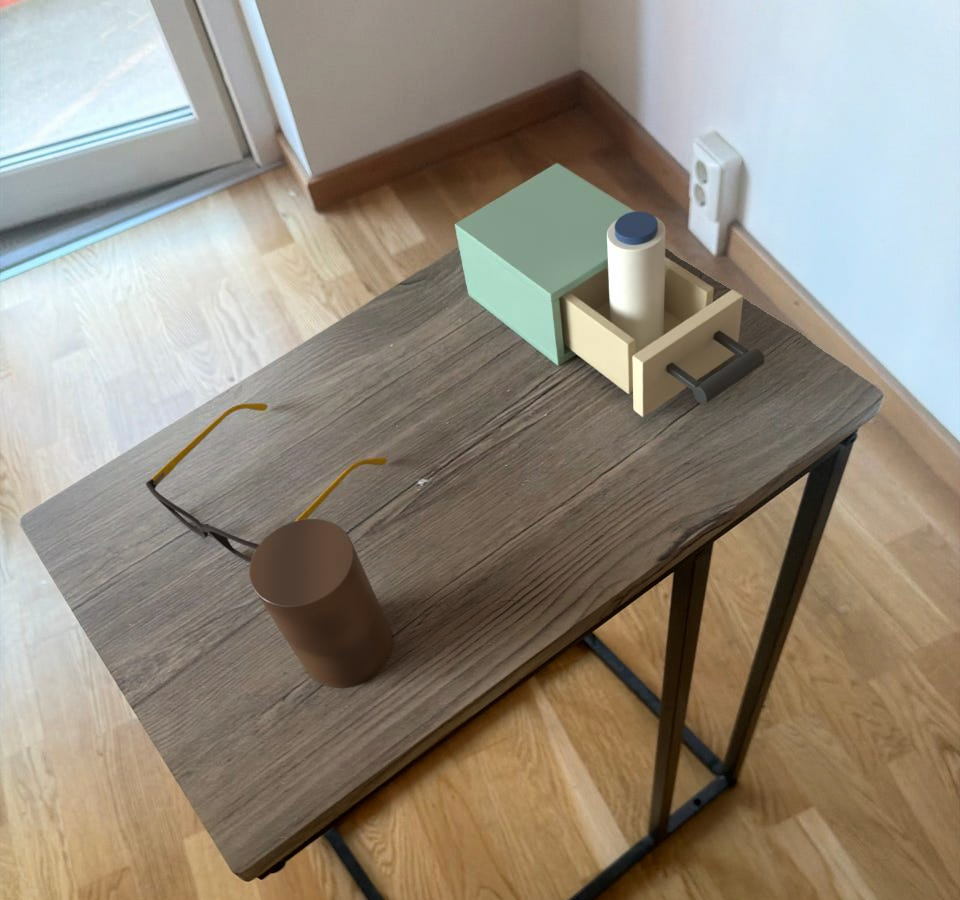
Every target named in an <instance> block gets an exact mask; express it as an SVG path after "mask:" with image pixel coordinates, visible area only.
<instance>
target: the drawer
mask: <svg viewBox="0 0 960 900" xmlns="http://www.w3.org/2000/svg"><path fill="white" fill-rule="evenodd" d="M714 290H715V288H714V287H713V286H712V285H710V284H709V283H707V282H705V281H704V280H703V279H701V278H699V277H698V276H696V275H695V274H693V273H691V272H690V271H688V270H687V269H685V268H683V266H680V265H679V264H677V263H676V262H674V261H672V260H671V259H669V258H668V257H667V256H665V289H664V335H663V336H662V337H660V338H659V339H657V340H656V341H654V342H653V343H651V344H650V345H648V346H647V347H645V348H644V349H642V350H641V351H639V352H638V353H636V352H635V339H633V338H632V337H631V336H629V335H628V334H626V333H625V332H624V331H622V330H621V329H620V328H618V327H617V326H615V325H614V324H613V323H611V322H610V298H609V273H608V267H607V268H605V269H604V270H602V271H601V272H599V273H597V274H596V275H594V276H593V277H591V278H590V279H588V280H586V281H585V282H583V283H582V284H580V285H579V286H577V287H575V288H574V289H572V290H571V291H569V292H568V293H566V294H564V295H563V296H561V297H560V298H559V304H560V314H561V324H562V335H563V344H564V345H565V346H567V347H568V348H569V349H571V350H572V351H573V352H574V353H576V355H577V356H578V357H580V358H581V359H582V360H583V361H585V362H586V363H587V364H588V365H590V366H591V367H592V368H594V369H595V370H596V371H597V372H599V373H600V374H602V375H603V376H604V377H606V378H607V379H608V380H609V381H611V382H612V383H613V384H614V385H616V386H617V387H619V388H620V389H621V390H622V391H623V392H625V393H626V394H628V395H630V394H632V403H633V405H632V406H633V411H634V412H635V413H636V414H638V415H639V416H640V417H642V418H644V417H646V416H648V415H649V414H650V413H652V412H654V411H655V410H656V409H658V408H659V407H661V406H662V405H663V404H665V403H666V402H668V401H669V400H671V399H672V398H674V397H675V396H676V395H678V394H679V393H681V392H682V391H684V390H685V389H687V388H688V389H690V390H691V391H692V392H693V396H694V399H695V400H696V401H697V403H699V404H700V405H707V404H708V403H709V402H711V401H713V400H714V399H715V398H717V397H719V396H720V395H722V394H723V393H724V392H725V391H727V390H728V389H730V388H731V387H732V386H734V385H736V384H737V383H739V382H740V381H741V380H743V379H745V378H746V377H747V376H748V375H750V374H751V373H752V372H754V371H755V370H757V369H758V368H760V367H761V366H763V365H764V364H765V360H766V359H765V355H764V353H763V351H761V349H759V348H757V347H752V348H750V349H748V348H747V347H746V346H744V345H742V344H741V343H739V339H740V329H741V320H742V312H743V301H744V295H743V294H741V293H740V292H738V291H737V290H734V289H731V290H729V291H728V292H726V293H725V294H723V295H722V296H720V297H719V298H717V299H716V300H714V292H715V291H714ZM735 355H736V356H737V358H736V359H734V360H732V362H730V363H728V364H726V365H725V366H724V367H723V368H721V369H720V370H718V371H716V372H715V373H714V374H712V375H711V376H709V377H708V378H707V379H705V380H704V381H702V382H700V381H699V380H700V379H701V378H703V377H704V376H705V375H707V374H709V373H710V372H711V371H713V370H715V369H716V368H717V367H718V366H720V365H722V364H723V363H725V362H726V361H728V360H729V359H730V358H732V357H733V356H735Z"/></svg>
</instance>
